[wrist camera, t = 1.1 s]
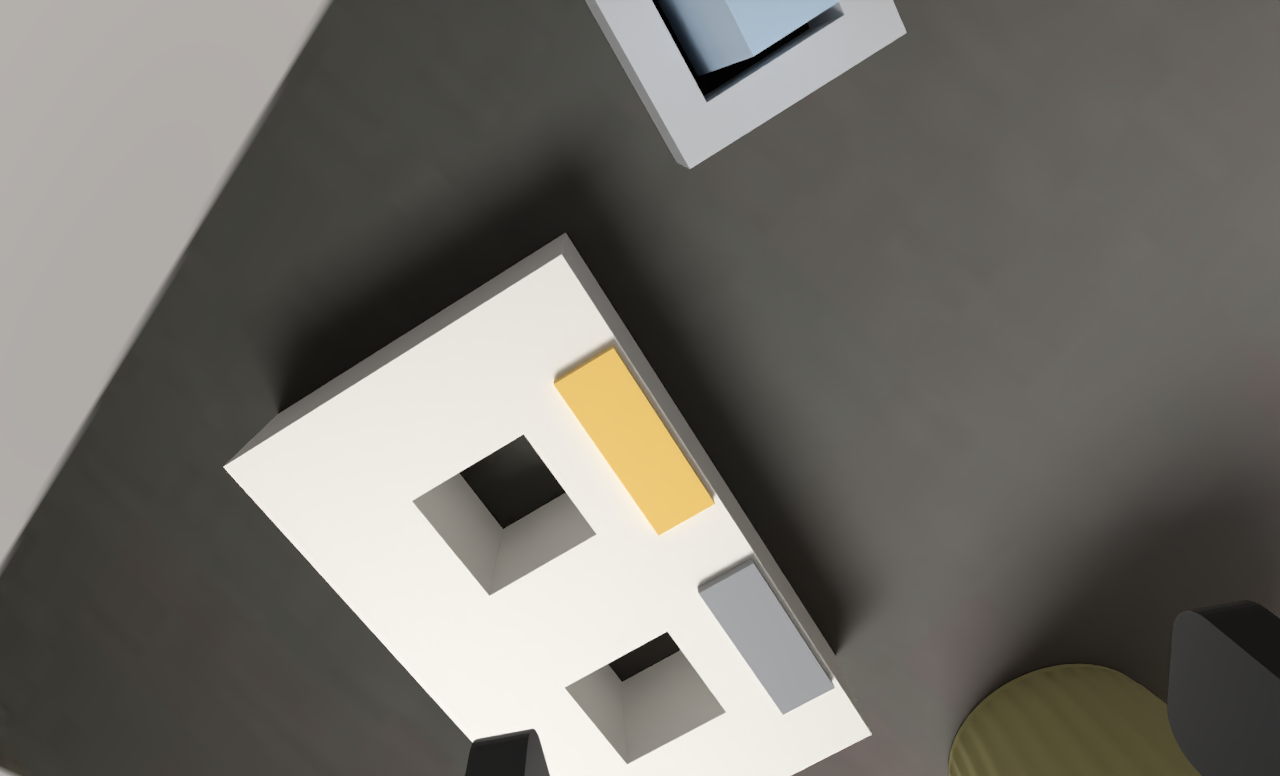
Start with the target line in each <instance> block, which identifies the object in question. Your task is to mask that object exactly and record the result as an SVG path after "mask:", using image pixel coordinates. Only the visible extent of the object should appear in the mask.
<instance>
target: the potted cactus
mask: <svg viewBox="0 0 1280 776" xmlns="http://www.w3.org/2000/svg"><path fill="white" fill-rule="evenodd" d="M949 776H1202V775H1201V774H1200V773H1199V772H1198V771H1197V770H1196V769H1195V768H1194V767H1193V766H1192V764H1191V763H1190V762H1189V761H1188V759H1187V758H1186V757H1185V755H1184V754H1183V752H1182V751H1181V749H1180V747H1179V746H1178V744H1177V742H1176V740H1175V737H1174V735H1173V733H1172V730H1171V727H1170V724H1169V720H1168V714H1167V704H1166V703H1164V702H1163V701H1162V700H1161V699H1159V698H1158V697H1157V696H1155V695H1154V694H1153V693H1151V692H1150V691H1149V690H1148V689H1146V688H1145V687H1144V686H1142V685H1141V684H1138V683H1136V682H1135V681H1134V680H1132V679H1131V678H1129V677H1128V676H1126V675H1124V674H1122V673H1120V672H1118V671H1116V670H1113V669H1110V668H1107V667H1103V666H1098V665H1091V664H1063V665H1056V666H1051V667H1047V668H1042V669H1039V670H1036V671H1033V672H1030V673H1028V674H1025V675H1022V676H1020V677H1018V678H1016V679H1014V680H1012V681H1010V682H1008V683H1007V684H1005V685H1003V686H1002V687H1000V688H998V689H997V690H996V691H994V692H993V693H992V694H990V695H989V696H988V697H986V698H985V699H984V700H983V701H982V702H981V703H980V704H979V705H978V706H977V707H976V708H975V709H974V710H973V711H972V712H971V713H970V715H969V716H968V717H967V718H966V720H965V721H964V723H963V724H962V726H961V727H960V729H959V731H958V733H957V735H956V737H955V740H954V742H953V745H952V747H951V752H950V757H949Z"/></svg>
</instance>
